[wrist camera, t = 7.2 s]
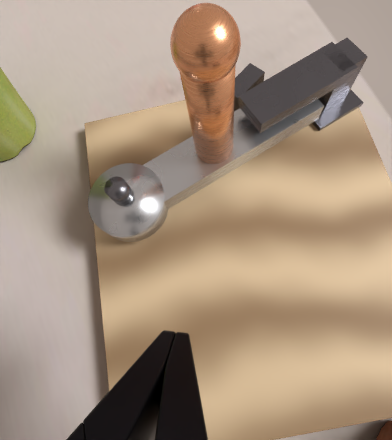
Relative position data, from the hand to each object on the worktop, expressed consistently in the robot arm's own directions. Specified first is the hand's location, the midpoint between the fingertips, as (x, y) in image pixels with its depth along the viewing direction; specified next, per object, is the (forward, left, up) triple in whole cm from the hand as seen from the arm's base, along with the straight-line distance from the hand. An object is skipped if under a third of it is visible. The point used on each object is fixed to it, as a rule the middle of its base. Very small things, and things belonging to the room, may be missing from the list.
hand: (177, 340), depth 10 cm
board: (+6, -4, -12) cm, 14 cm away
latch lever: (+11, -3, -10) cm, 15 cm away
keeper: (+15, -10, -11) cm, 21 cm away
